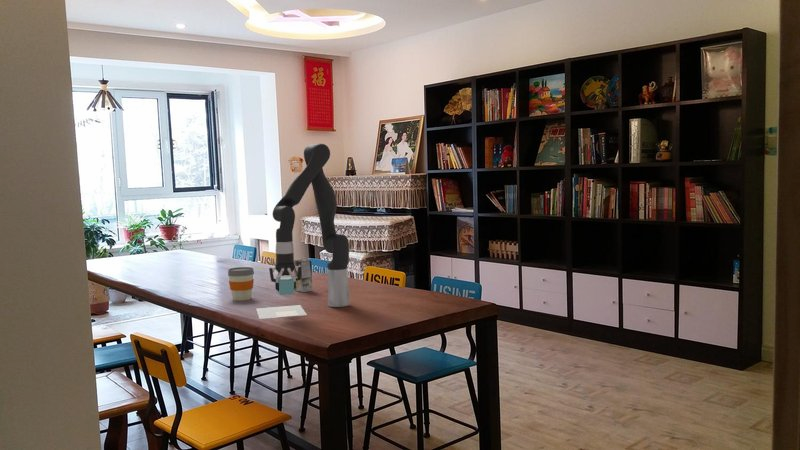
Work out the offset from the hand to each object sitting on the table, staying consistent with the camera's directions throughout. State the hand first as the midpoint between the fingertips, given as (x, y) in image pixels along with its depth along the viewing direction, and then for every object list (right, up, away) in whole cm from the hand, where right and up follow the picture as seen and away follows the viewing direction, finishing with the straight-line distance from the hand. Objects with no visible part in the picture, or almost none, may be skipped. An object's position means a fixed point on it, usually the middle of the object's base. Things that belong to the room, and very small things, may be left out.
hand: (285, 290), depth 264 cm
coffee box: (-2, -7, +60) cm, 60 cm away
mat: (-3, -11, +6) cm, 13 cm away
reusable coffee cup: (-30, -9, +41) cm, 51 cm away
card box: (0, -1, 0) cm, 1 cm away
